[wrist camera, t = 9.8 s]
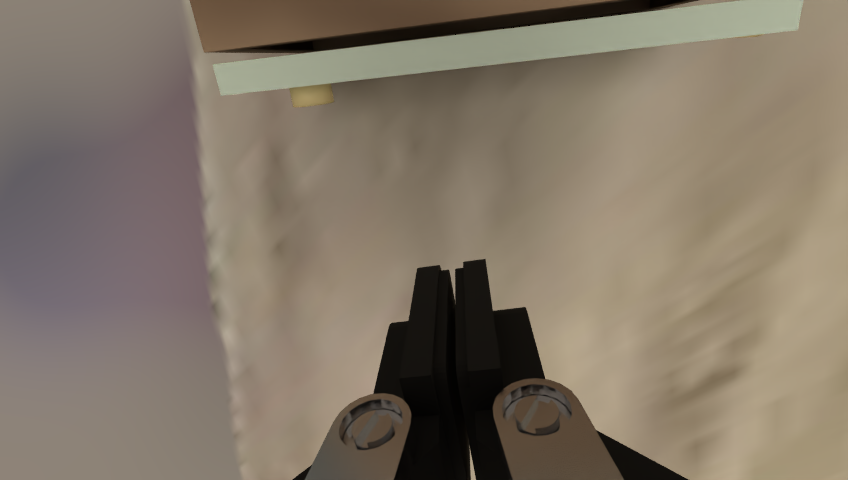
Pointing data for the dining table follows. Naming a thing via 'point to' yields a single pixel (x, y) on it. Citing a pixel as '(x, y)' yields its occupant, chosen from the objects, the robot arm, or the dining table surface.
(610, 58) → the dining table surface
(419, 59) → the cabinet door
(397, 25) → the wooden shelf
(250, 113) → the dining table surface
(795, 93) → the dining table surface
